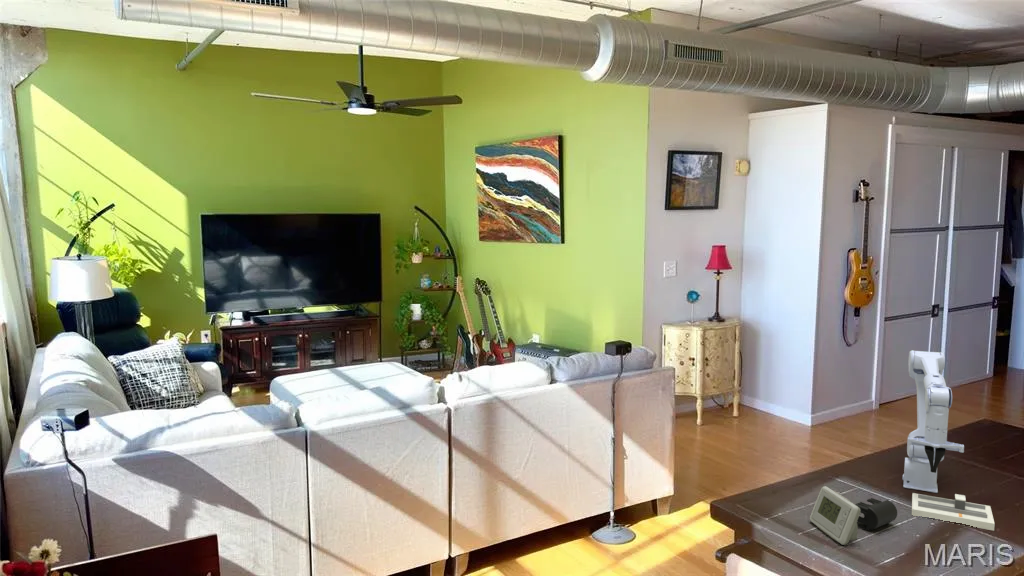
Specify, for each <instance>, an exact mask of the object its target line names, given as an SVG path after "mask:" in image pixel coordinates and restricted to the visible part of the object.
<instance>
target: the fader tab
mask: <svg viewBox="0 0 1024 576" xmlns="http://www.w3.org/2000/svg"><path fill="white" fill-rule="evenodd" d="M954 500H955V503H954V506H955V509H960V510H965V502H967V500H966V495H964V494H957V493H955V494H954Z"/></svg>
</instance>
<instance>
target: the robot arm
mask: <svg viewBox="0 0 1024 576" xmlns="http://www.w3.org/2000/svg"><path fill="white" fill-rule="evenodd" d="M945 366H946V357H945V353H943V352H942V351H940V352H937V351H922V350H913V349H912V350H910V351H909V352H908V374H909V375H908V376H909V377H910V378H912V379H913V380H914V381H915V386H916V415H917V416H916V419H917V420H916V423H917V427H916V429H914V430H913V431H911V432H909V434H908V435H907V442H906V443H907V446H906V452H907V456H908V457H904V467H903V468H904V469H903V470H904V471H903V472H904V473H903V474H902V481H903V486H902V487H903V488H905V489H910V490H917V491H921V492H922V491H924V492H929V493H934V494H938V493H939V490H938V488H939V487H938V483H937V479H938V467H939V464H940V463H941V462H942V461H943V460H944V459H945V455H946V450H947V451H954V452H959V453H964V452H965V445H964V444H961V443H955V442H952V441H948V426H949V413H950V412H949V411H950V409H951V407H952V405H953V392H952V388H950V387H949V386H947V383H946V379H945V378H944V376H943V373H944V370H945Z"/></svg>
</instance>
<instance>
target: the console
mask: <svg viewBox="0 0 1024 576" xmlns="http://www.w3.org/2000/svg"><path fill="white" fill-rule="evenodd" d="M954 503H955V499H950V498H945V497H938V496H934V495H933V496H932V495H927V494H920V493H915V492H912V495H911V516H912V515H913V517H916V516H922V517H929V518H935V519H940V520H943V521H942V522H944V521H950V522H956V523H962V524H966V525H970V526H969V527H971V526H973V528H976V527H977V528H978V529H982V530H988V531H993V532H994V531H995V526H996V525H995V520H994V516H993V512H992V511H993V510H992V508H991V507H992V506H991V505H986V504H979V503H974V502H970V501H969V502H968V501H966V502H965V510H960V509H955V506H954ZM922 517H921V518H922Z"/></svg>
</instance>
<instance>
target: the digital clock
mask: <svg viewBox="0 0 1024 576" xmlns="http://www.w3.org/2000/svg"><path fill="white" fill-rule="evenodd" d="M860 511H861V510H860V508H859V507H858V506H856V505H855V503H853V501H851V500H850V499H849V498H846V496H843V495H841V494H840V493H839V492H837V491H836V490H833V489H831V488H829V487H828V486H825V485H824V486H822V487H821V488H820V490H819V493H818V496H817V497H816V500H815V503H814V506H813V509H812V510H811V514H810V515H809V520H810V522H811V523H813V524H814V525H815V526H816V527H817V528H818V529H819V530H820V531H822V532H824V533H825V534H826V535H827V536H828V537H830V538H831V539H832V540H834V541H836V542H837V543H839V544H841V546H842V545H843V546H845V545H848V544H849V542H850V541H852V540H853V541H855V540H857V539H858V529H859V527H858V525H857V523H856V522H858V521H857V520H858V517H859V516H861V513H860Z"/></svg>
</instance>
